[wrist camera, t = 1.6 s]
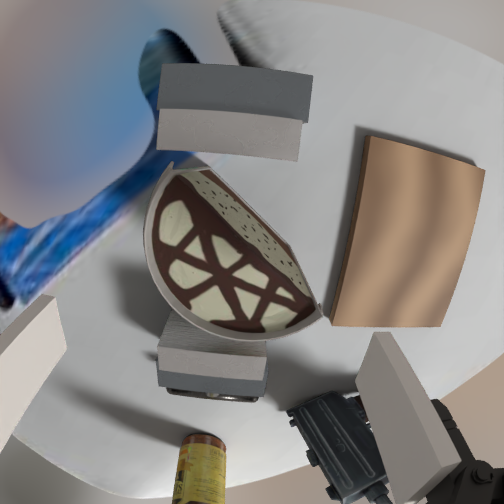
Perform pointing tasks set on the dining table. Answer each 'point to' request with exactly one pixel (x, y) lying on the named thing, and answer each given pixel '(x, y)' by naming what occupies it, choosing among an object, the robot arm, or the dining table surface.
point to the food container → (223, 260)
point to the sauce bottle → (200, 471)
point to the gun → (342, 447)
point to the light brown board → (406, 237)
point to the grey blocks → (226, 142)
